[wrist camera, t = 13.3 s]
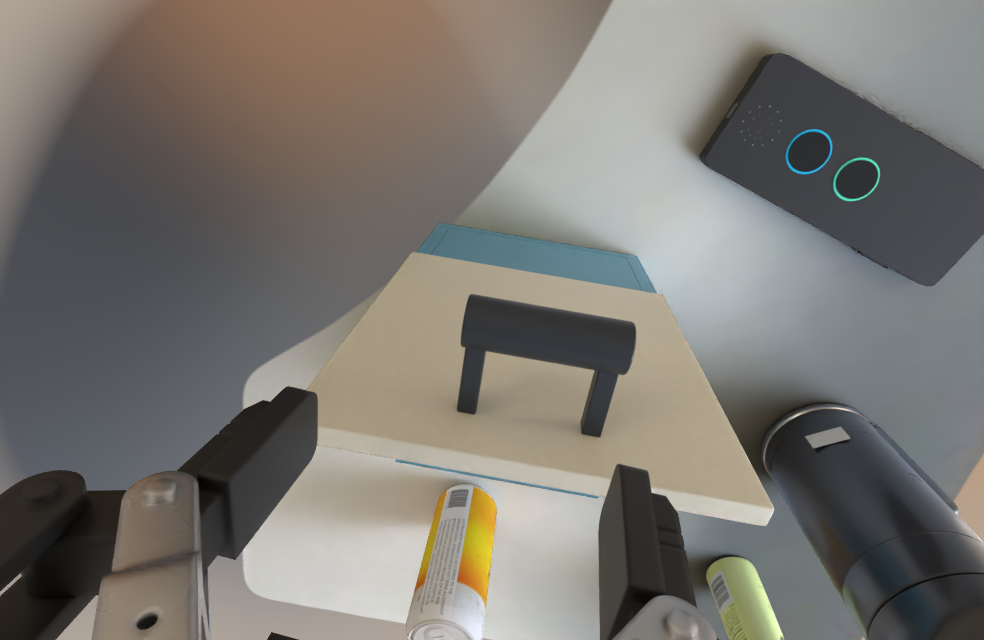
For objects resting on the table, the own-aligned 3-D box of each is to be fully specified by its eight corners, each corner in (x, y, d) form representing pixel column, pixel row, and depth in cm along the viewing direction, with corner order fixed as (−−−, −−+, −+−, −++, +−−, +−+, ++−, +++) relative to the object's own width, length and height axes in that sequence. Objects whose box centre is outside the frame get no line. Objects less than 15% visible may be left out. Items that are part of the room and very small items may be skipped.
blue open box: (589, 429, 48) (598, 498, 40) (420, 399, 49) (395, 461, 41) (637, 256, 41) (659, 297, 33) (439, 222, 42) (413, 255, 34)
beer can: (450, 529, 55) (419, 675, 41) (430, 486, 53) (389, 624, 39) (505, 519, 54) (491, 666, 40) (486, 474, 52) (464, 613, 38)
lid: (766, 527, 17) (836, 394, 14) (282, 439, 17) (277, 296, 15) (659, 305, 33) (684, 226, 31) (411, 263, 33) (417, 181, 31)
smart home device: (779, 45, 33) (1026, 191, 35) (769, 47, 35) (1005, 187, 37) (700, 165, 36) (930, 292, 39) (694, 162, 38) (915, 284, 40)
